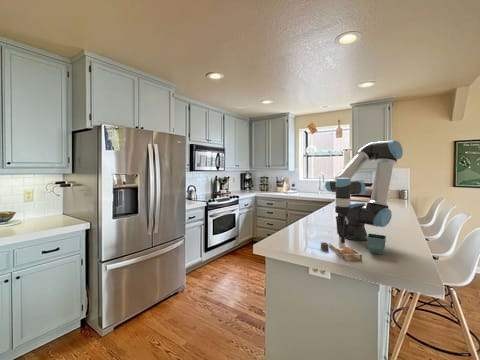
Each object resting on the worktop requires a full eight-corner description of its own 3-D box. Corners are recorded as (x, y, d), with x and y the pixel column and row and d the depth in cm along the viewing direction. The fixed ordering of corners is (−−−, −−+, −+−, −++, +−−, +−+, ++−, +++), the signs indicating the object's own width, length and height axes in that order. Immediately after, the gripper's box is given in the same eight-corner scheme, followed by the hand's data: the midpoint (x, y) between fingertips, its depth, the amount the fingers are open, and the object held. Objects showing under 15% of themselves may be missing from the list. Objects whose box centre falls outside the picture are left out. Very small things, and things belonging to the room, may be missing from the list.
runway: (342, 246, 143) (342, 242, 143) (352, 253, 131) (352, 249, 131) (329, 246, 143) (329, 242, 143) (337, 253, 131) (337, 249, 131)
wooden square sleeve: (326, 248, 140) (326, 242, 140) (328, 250, 136) (328, 244, 136) (320, 248, 140) (320, 242, 139) (322, 250, 136) (322, 244, 136)
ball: (353, 259, 125) (349, 254, 130) (355, 250, 124) (351, 245, 128) (343, 258, 125) (340, 253, 130) (345, 249, 124) (342, 244, 129)
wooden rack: (353, 253, 131) (353, 248, 131) (361, 259, 122) (362, 254, 122) (336, 253, 131) (336, 248, 131) (343, 260, 122) (343, 254, 122)
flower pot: (385, 256, 127) (385, 239, 127) (366, 253, 132) (366, 236, 131) (385, 251, 135) (386, 235, 134) (367, 248, 139) (368, 233, 139)
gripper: (331, 204, 140) (330, 244, 142) (340, 207, 127) (339, 252, 129) (344, 204, 140) (343, 244, 142) (355, 207, 127) (354, 252, 129)
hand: (341, 248), depth 135 cm, fingers closed
